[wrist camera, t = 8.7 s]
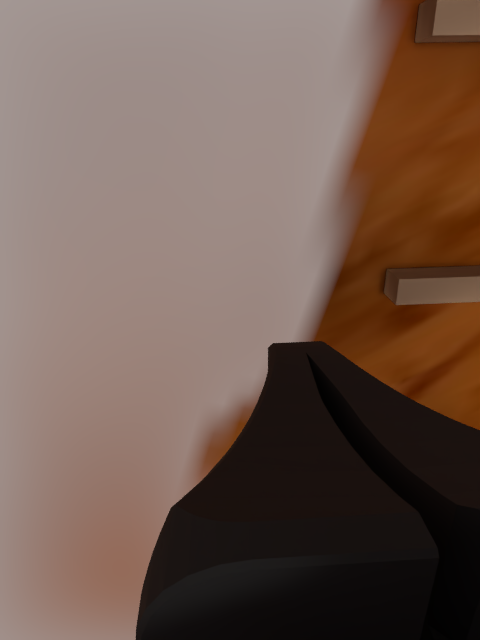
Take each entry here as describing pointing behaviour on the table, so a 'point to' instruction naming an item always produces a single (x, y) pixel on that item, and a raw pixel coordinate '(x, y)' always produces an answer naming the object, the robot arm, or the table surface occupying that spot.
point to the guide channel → (440, 282)
